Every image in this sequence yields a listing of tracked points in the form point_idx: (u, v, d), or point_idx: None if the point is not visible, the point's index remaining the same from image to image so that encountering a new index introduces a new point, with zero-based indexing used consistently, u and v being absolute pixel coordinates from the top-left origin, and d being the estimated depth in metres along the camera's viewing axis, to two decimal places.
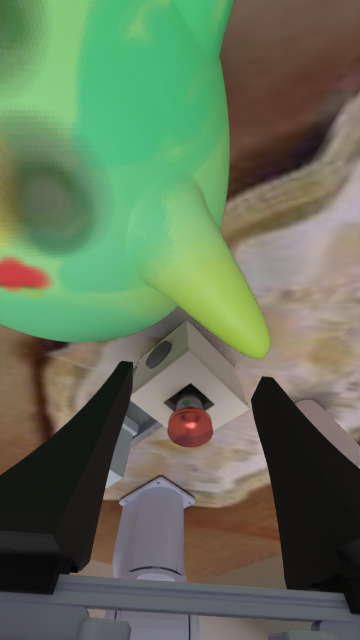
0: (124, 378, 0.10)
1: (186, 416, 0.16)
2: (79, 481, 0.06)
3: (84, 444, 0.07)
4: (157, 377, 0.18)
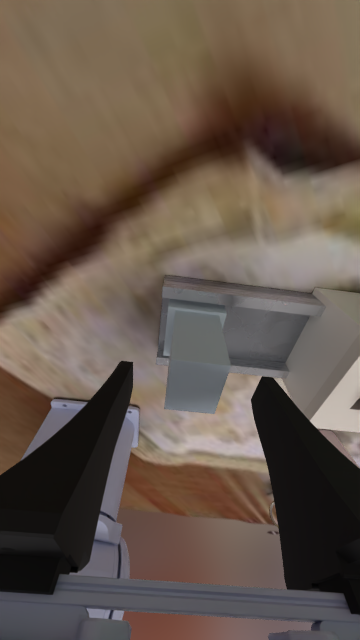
0: (124, 378, 0.10)
1: None
2: (79, 481, 0.06)
3: (84, 444, 0.07)
4: None
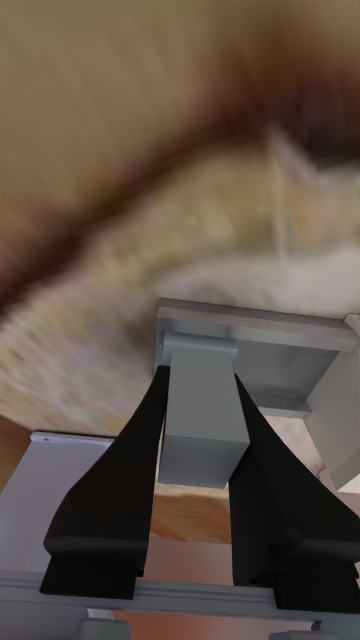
0: (167, 383, 0.10)
1: None
2: None
3: (147, 450, 0.07)
4: None
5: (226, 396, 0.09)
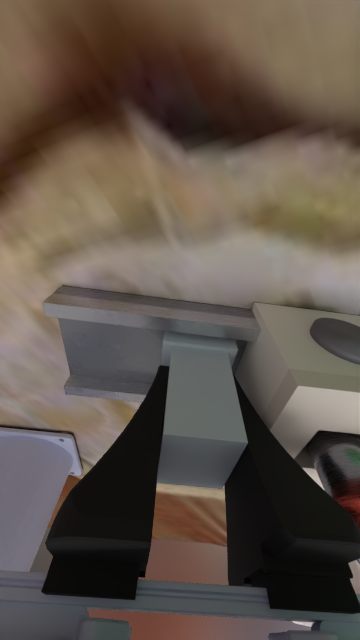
0: None
1: None
2: None
3: (149, 450, 0.07)
4: None
5: (225, 396, 0.09)
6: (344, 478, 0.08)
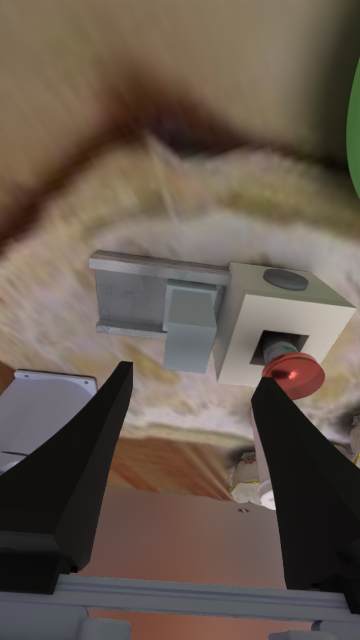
0: (124, 378, 0.10)
1: (316, 367, 0.12)
2: (79, 481, 0.06)
3: (84, 444, 0.07)
4: (299, 303, 0.13)
5: (205, 311, 0.15)
6: (276, 355, 0.14)
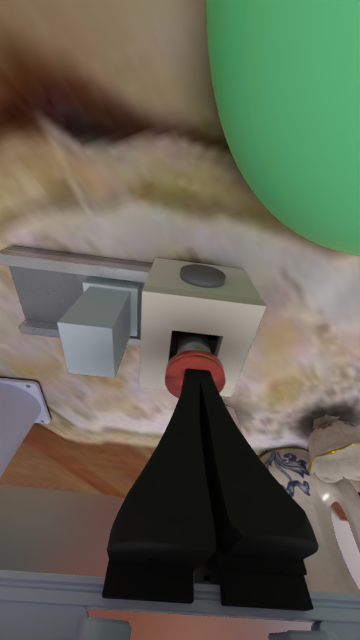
0: (198, 386, 0.10)
1: (213, 366, 0.12)
2: (208, 492, 0.06)
3: (192, 454, 0.07)
4: (203, 301, 0.12)
5: (111, 310, 0.14)
6: None
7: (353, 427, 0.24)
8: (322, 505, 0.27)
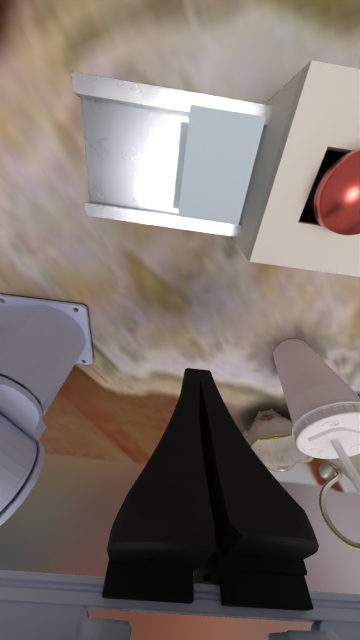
0: (198, 386, 0.10)
1: None
2: (208, 492, 0.06)
3: (192, 454, 0.07)
4: None
5: None
6: None
7: None
8: None
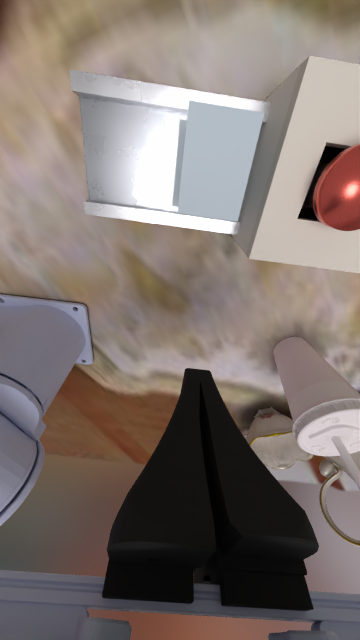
0: (198, 386, 0.10)
1: None
2: (208, 492, 0.06)
3: (192, 454, 0.07)
4: None
5: None
6: None
7: None
8: None
